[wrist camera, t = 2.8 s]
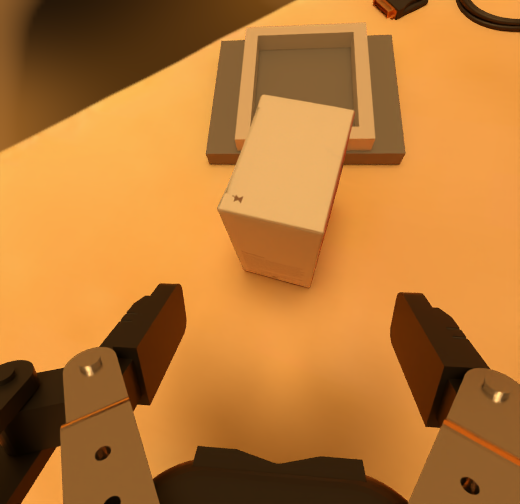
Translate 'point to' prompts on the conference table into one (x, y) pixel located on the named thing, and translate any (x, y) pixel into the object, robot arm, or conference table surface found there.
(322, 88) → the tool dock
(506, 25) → the cable
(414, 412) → the conference table surface
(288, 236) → the small box
